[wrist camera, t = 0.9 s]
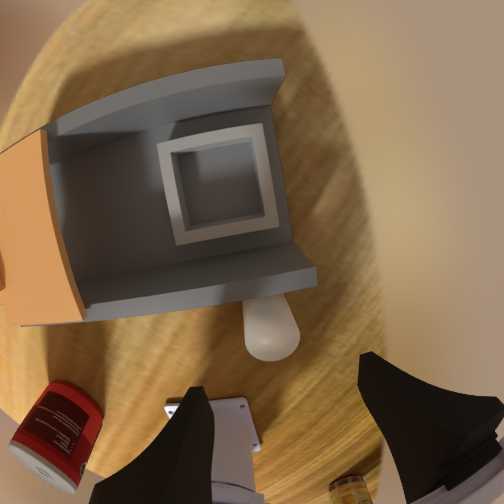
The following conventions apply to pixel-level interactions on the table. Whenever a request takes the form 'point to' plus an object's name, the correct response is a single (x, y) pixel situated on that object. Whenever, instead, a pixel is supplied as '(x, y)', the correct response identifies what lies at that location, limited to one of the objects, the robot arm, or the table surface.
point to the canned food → (58, 436)
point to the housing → (176, 194)
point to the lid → (33, 241)
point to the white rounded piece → (269, 328)
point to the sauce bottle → (349, 491)
